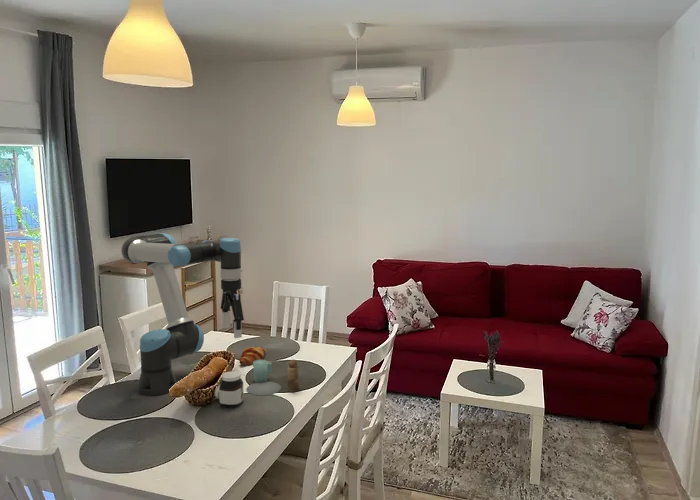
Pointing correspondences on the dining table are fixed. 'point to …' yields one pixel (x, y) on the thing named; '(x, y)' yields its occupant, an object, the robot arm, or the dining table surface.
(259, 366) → the mug
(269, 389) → the grey flat disc
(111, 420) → the dining table surface
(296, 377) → the salt mill
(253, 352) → the croissant
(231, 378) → the spread jar
